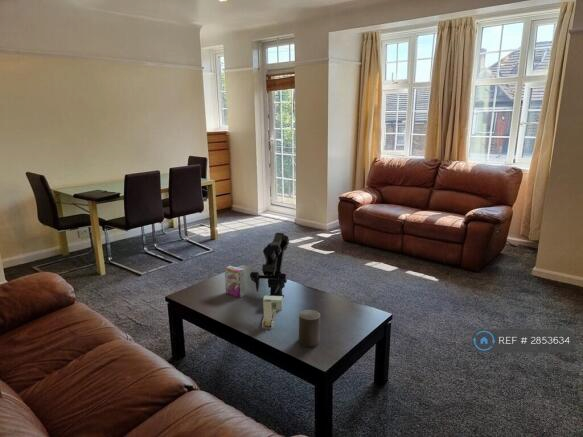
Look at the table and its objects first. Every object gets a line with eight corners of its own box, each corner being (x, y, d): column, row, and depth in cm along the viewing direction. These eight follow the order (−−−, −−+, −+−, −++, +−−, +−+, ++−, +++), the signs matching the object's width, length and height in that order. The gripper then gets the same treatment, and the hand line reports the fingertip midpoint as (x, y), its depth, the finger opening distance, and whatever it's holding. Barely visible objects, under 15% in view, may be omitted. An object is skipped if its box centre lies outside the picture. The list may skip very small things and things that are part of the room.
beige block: (267, 314, 213) (267, 290, 209) (274, 314, 212) (273, 291, 209) (264, 326, 201) (263, 301, 197) (271, 326, 200) (270, 301, 197)
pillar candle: (304, 349, 182) (304, 318, 179) (295, 338, 191) (295, 309, 187) (323, 344, 186) (324, 314, 182) (313, 334, 195) (314, 305, 191)
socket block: (264, 305, 224) (264, 295, 223) (282, 306, 223) (282, 296, 222) (263, 309, 219) (263, 299, 218) (281, 310, 218) (281, 300, 217)
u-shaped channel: (266, 314, 214) (266, 309, 213) (276, 314, 214) (276, 309, 213) (262, 328, 200) (261, 322, 199) (272, 328, 200) (272, 323, 199)
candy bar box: (225, 293, 239) (224, 267, 235) (231, 290, 243) (229, 265, 239) (240, 298, 233) (239, 271, 229) (245, 295, 237) (244, 268, 233)
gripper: (250, 256, 210) (245, 283, 201) (286, 258, 207) (282, 286, 198) (254, 267, 219) (249, 293, 210) (288, 269, 216) (284, 296, 207)
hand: (266, 292), depth 206 cm, fingers open, 9 cm apart
